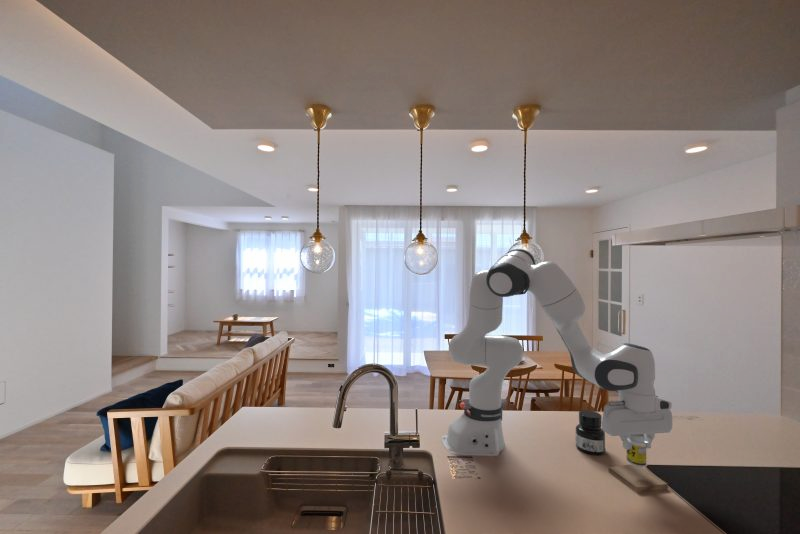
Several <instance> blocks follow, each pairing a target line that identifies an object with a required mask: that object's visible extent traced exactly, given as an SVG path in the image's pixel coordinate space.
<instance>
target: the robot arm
mask: <svg viewBox="0 0 800 534" xmlns="http://www.w3.org/2000/svg"><path fill="white" fill-rule="evenodd" d="M470 282H471V283H470V287H469V297H468V298H469V301H468V302H469V303H468V304H469V306H468V307H469V309H468V320H467V322H466V325H465V326H464V328H463V329H462V330H461V331H460V332H458V333H457V334H456V335H454V336H453V337H452V338H451V339H450V341H449V342H448V352H449V353H448V354H449V356H450V358H451V360H452V361H454V362H455V363H457V364H462V365H466V366H478V367H479V366H480V367H487V368H486V369H485V370H484V372H482V373H479V374H477V375H475V376H474V377H472V379H470V382H469V385H468V387H469V391H468V392H469V393H468V399H469V401H468V402H467V403H465V402H463V401H462V402H460V403H459V407H460V408H461V410H463V413H462V414H461V415H460V416H459V417H457V418H456V419H455V420H453V421H452V422H451V423H449V425H448V428H447V429H448V430H447V434H443V435H442V437H441V440H440V441H441V443H442V446H443V447H444V448H445V449H446V451H448V452H449V453H451V455H452V454H453V455H457V456H483V457H484V456H485V457H487V456H488V457H498V456H499V455H500V453H501V451H503V450H504V449H505V448H506V443H505V442H506V441H505V438H504V434H503V426H502V424H503V423H502V421H503V406H502V389H503V383H504V381H505V378H506V377H507V375H508V373H509V372H511V371H512V370H513V369H514V368H515V367H517V366H519V364H520V363H521V362H522V360H523V357H524V349H523V345H522V344H521V342H520V341H519V339H518V338H515V337H512V336H507V335H500V334H499V335H498V334H497V335H495V334H490V333H492V332H494V331H496V330H497V329H498V328H499V327H500V326H501V324H502V322H503V307H504V305H503V303H504V302H503V301H504V300H503V299H504V298H509V297H513V296H520V295H526V293H527V292H530V293H531V294H532V295H534V297H535V298H536V300H537V302H538V303H539V305H540V307H541V308H542V309H543V311H544V313H545V314H546V316H547V317H548V318H549V320H550V321H551V323H552V324H553V325H554V327H555V328H556V331H557V332H558V334H559V336H560V338H561V339H562V341H563V344H564V345H565V347H566V349H567V351H568V354H569V357H570V361H571V367H572V369H573V372H574V373H575V374H576V375H577V376H578V377H579V378H581V379H583V380H586V381H588V382H590V383H591V384H594V385H595V386H597V387H598V388H601V389H602V390H605V391H609V392H618V400H616V401H612V400H611V401H608V403H605V405H604V406H603V413H602V417H601V429H603V431H604V432H605V434H607V435H609V436H611V437H619V438H620V439H621V441H622V447H623V449H624V450H626V451H627V450H632V444H631V443H629V441H628V439H627V438H629V435H639V434H643V435H644V436H645V441H644V442H645V443H646V450H647V449H651V448H652V442H653V440H654V439H655V436H656V435H655V434H669V433H670V432H671V431H672V430H673V414H672V410H671V409H672V406H673V405H672V404H673V403H672V401H670V400H668V399H665V398H663V397H660V396H657V395H656V389H655V386H654V382H655V379H656V366H655V365H656V363H655V358H654V354H653V352H652V350H650V348H647V347H644V346H640V345H638V344H633V343H627V342H626V343H621V344H620V346H619V347H617V348H616V349H614V350H612V351H611V352H607V353H603V352H602V351H599V350H597V349H595V347H593V346H592V345H590V343H589V341H588V340H587V338H586V336H585V335H584V333H583V331H582V329H581V328H580V325H579V323H578V321H579V320H580V319H582V317H583V316H584V313H585V310H586V305H585V302H584V299H583V297H582V295H581V293H580V292H579V290H578V289H577V287H576V285H575V283H573V281H572V280H571V279H570V277H569V275H567V273H566V272H565V271H564V270H563V269H562V268H561V267H560V266H559V265H558V264H557V263H555V262H553V261H550V260H547V261H542V262H537V264H536V260H535V257H534V255H533V254H532V253H531V252H530V251H528V250H526V249H524V248H515V249H510V251H507V252H506V253H505V254H503V255H502V256H501V257H500V258H499V259H497V261H496V262H495V263H494V264H493V265H492V266H491V267H490V268H489V269H482V270H479V271H477V272H475V273H474V275H473V276H472V278H471V281H470Z"/></svg>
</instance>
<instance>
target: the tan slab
mask: <svg viewBox="0 0 800 534" xmlns="http://www.w3.org/2000/svg"><path fill="white" fill-rule="evenodd" d="M608 473H610V475H612V476H614V477H615V478H616V479H617V480H619V481H620V482H622V483H623V484H624V485H626V486H627V487H628V488H630V489H631V490H632V491H634V492H635V493H637V494H639V493H647V492H655V491H656V492H657V491H664V490H668V489H669V488H668V487H669V483H667V482H666V481H664V480H663V479H661V478H660V477H658V476H656V475H655V474H653V473H652V472H650V471H649V470H647V469H645V467H638V466H634V465H632V464H625V465H623V464H622V465H615V466H614V465H613V466H608Z"/></svg>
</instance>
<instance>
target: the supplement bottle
mask: <svg viewBox="0 0 800 534" xmlns="http://www.w3.org/2000/svg"><path fill="white" fill-rule="evenodd" d="M627 439H628V441H629V443H631V444H632V450H626V462H627V463H629V465H634V466H638V467H642V468H645V467H646V466H647V449H646V443H645V442H644V441H645V434H639V435H629V438H627Z"/></svg>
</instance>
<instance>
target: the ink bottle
mask: <svg viewBox="0 0 800 534" xmlns="http://www.w3.org/2000/svg"><path fill="white" fill-rule="evenodd" d="M575 446H576V448H577V449H578V450H579V451H582V452H583V453H587V454H590V455H594V456H600V455H601V456H602V455H603V454H604V453H606V432H605V431H604V430H603V429H602V414H601V413H599V412H597V411H594V410H590V409H589V410H588V409H581V410H579V412H578V424H577V425H576V426H575Z"/></svg>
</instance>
